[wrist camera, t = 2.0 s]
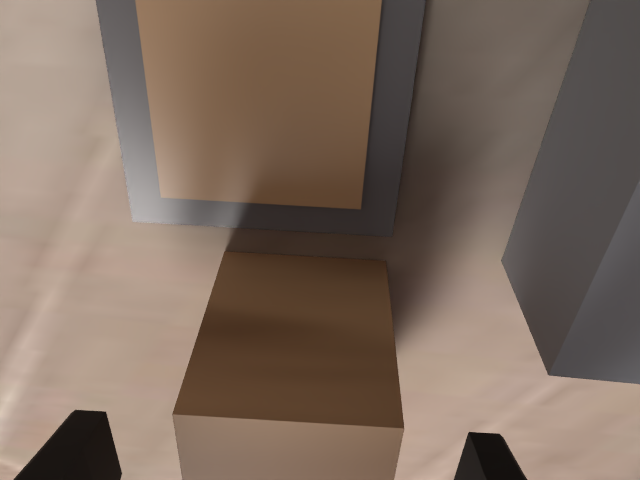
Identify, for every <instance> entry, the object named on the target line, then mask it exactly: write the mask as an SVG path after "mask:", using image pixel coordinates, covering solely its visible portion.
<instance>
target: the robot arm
mask: <svg viewBox="0 0 640 480" xmlns="http://www.w3.org/2000/svg"><path fill="white" fill-rule="evenodd" d="M121 475H122V472H121V468H120V464H119V460H118V456H117V453H116V449H115V445H114V441H113V437H112V433H111V429H110V426H109V422H108V418H107V414H106V412H102V411H84V410H75V411H74V412H72V413H71V414H70V415H69V416H68V417H67V419H66V420H65V421H64V422H63V423H62V425H61V426H60V427H59V428H58V429H57V430H56V432H55V433H54V434H53V435H52V436H51V437H50V439H49V440H48V441H47V442H46V443H45V444H44V446H43V447H42V448H41V449H40V450H39V451H38V452H37V454H36V455H35V456H34V457H33V458H32V459H31V460H30V462H29V463H28V464H27V465H26V466H25V467H24V468H23V469H22V471H21V472H20V473H19V474H18V475H17V476H16V477H15V478H14V480H120V479H121ZM454 480H527V479H526V477H525V475H524V474H523V472H522V470H521V468H520V467H519V465H518V463H517V461H516V460H515V458H514V456H513V454H512V452H511V451H510V449H509V447H508V445H507V443H506V442H505V440H504V438H503V437H502V436H501V435H500V434H494V433H476V432H469V433H468V436H467V439H466V442H465V446H464V449H463V452H462V455H461V459H460V462H459V465H458V468H457V471H456V475H455V478H454Z"/></svg>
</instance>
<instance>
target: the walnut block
mask: <svg viewBox="0 0 640 480" xmlns="http://www.w3.org/2000/svg"><path fill="white" fill-rule="evenodd" d="M172 415H173V422H174V428H175V435H176V441H177V448H178V454H179V460H180V467H181V473H182V480H394V477H395V472H396V467H397V462H398V457H399V452H400V447H401V442H402V437H403V432H404V422H403V413H402V403H401V394H400V385H399V376H398V367H397V357H396V348H395V339H394V330H393V321H392V311H391V302H390V293H389V284H388V275H387V266H386V261H381V260H364V259H347V258H330V257H313V256H296V255H278V254H261V253H244V252H227V251H225V252H224V255H223V258H222V261H221V264H220V268H219V271H218V274H217V277H216V280H215V283H214V286H213V289H212V292H211V296H210V299H209V302H208V305H207V308H206V311H205V314H204V317H203V320H202V324H201V327H200V330H199V333H198V336H197V339H196V342H195V345H194V349H193V352H192V355H191V358H190V361H189V364H188V367H187V370H186V373H185V377H184V380H183V383H182V386H181V389H180V392H179V395H178V398H177V401H176V405H175V408H174V411H173V414H172Z"/></svg>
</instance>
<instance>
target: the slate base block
mask: <svg viewBox="0 0 640 480" xmlns="http://www.w3.org/2000/svg"><path fill="white" fill-rule="evenodd" d="M501 261H502V264H503V266H504V268H505V271H506V273H507V276H508V278H509V281H510V283H511V285H512V288H513V290H514V293H515V295H516V298H517V300H518V302H519V305H520V307H521V310H522V312H523V315H524V317H525V319H526V322H527V324H528V327H529V329H530V332H531V334H532V336H533V339H534V341H535V344H536V346H537V349H538V351H539V353H540V356H541V358H542V361H543V363H544V366H545V368H546V370H547V373H548V375H550V376H561V377H571V378H582V379H592V380H602V381H613V382H623V383H634V384H640V0H590V3H589V6H588V9H587V12H586V15H585V18H584V21H583V24H582V27H581V30H580V33H579V36H578V38H577V41H576V44H575V47H574V50H573V53H572V56H571V59H570V62H569V65H568V68H567V71H566V73H565V76H564V79H563V82H562V85H561V88H560V91H559V94H558V97H557V100H556V103H555V106H554V108H553V111H552V114H551V117H550V120H549V123H548V126H547V129H546V132H545V135H544V138H543V141H542V143H541V146H540V149H539V152H538V155H537V158H536V161H535V164H534V167H533V170H532V173H531V176H530V178H529V181H528V184H527V187H526V190H525V193H524V196H523V199H522V202H521V205H520V208H519V211H518V214H517V216H516V219H515V222H514V225H513V228H512V231H511V234H510V237H509V240H508V243H507V246H506V249H505V251H504V254H503V257H502V260H501Z"/></svg>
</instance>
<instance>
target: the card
mask: <svg viewBox="0 0 640 480" xmlns="http://www.w3.org/2000/svg"><path fill="white" fill-rule="evenodd" d="M425 2H426V0H96V5H97V11H98V17H99V23H100V29H101V35H102V41H103V47H104V53H105V59H106V65H107V71H108V77H109V83H110V89H111V95H112V101H113V107H114V113H115V119H116V125H117V131H118V137H119V143H120V149H121V155H122V161H123V167H124V173H125V179H126V185H127V191H128V197H129V203H130V209H131V215H132V221H133V222H146V223H163V224H180V225H197V226H214V227H231V228H248V229H265V230H282V231H299V232H316V233H333V234H351V235H368V236H385V237H392V235H393V227H394V220H395V213H396V206H397V199H398V192H399V185H400V178H401V171H402V164H403V157H404V150H405V143H406V136H407V129H408V122H409V115H410V108H411V101H412V94H413V87H414V80H415V73H416V66H417V59H418V52H419V44H420V37H421V30H422V23H423V16H424V9H425Z"/></svg>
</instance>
